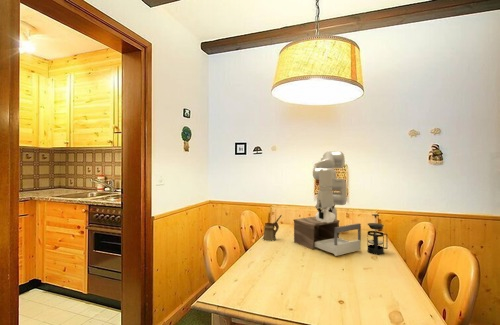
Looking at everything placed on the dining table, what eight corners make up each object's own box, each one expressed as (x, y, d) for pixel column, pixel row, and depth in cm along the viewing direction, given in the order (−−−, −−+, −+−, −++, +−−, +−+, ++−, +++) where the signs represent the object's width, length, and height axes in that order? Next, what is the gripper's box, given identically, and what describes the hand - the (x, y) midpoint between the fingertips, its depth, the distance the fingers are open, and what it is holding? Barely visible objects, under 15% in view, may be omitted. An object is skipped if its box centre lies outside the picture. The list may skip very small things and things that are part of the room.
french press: (366, 253, 159) (366, 215, 159) (365, 249, 168) (365, 212, 168) (388, 256, 155) (388, 216, 155) (386, 251, 164) (386, 213, 164)
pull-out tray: (337, 242, 179) (337, 218, 179) (360, 249, 163) (360, 223, 163) (313, 247, 167) (313, 222, 168) (335, 255, 152) (335, 228, 152)
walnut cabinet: (319, 237, 195) (319, 215, 195) (339, 243, 179) (339, 220, 179) (293, 242, 182) (293, 219, 182) (312, 249, 166) (312, 224, 167)
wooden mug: (280, 242, 182) (280, 216, 183) (261, 240, 187) (261, 214, 187) (282, 238, 191) (282, 213, 191) (264, 237, 195) (264, 212, 195)
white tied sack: (335, 226, 160) (338, 209, 166) (333, 220, 155) (335, 203, 161) (316, 223, 166) (318, 207, 172) (313, 218, 161) (316, 202, 167)
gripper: (331, 187, 170) (331, 215, 170) (310, 189, 162) (310, 218, 162) (340, 188, 164) (340, 217, 164) (319, 190, 155) (319, 220, 155)
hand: (325, 217), depth 163 cm, fingers closed on white tied sack, 6 cm apart
